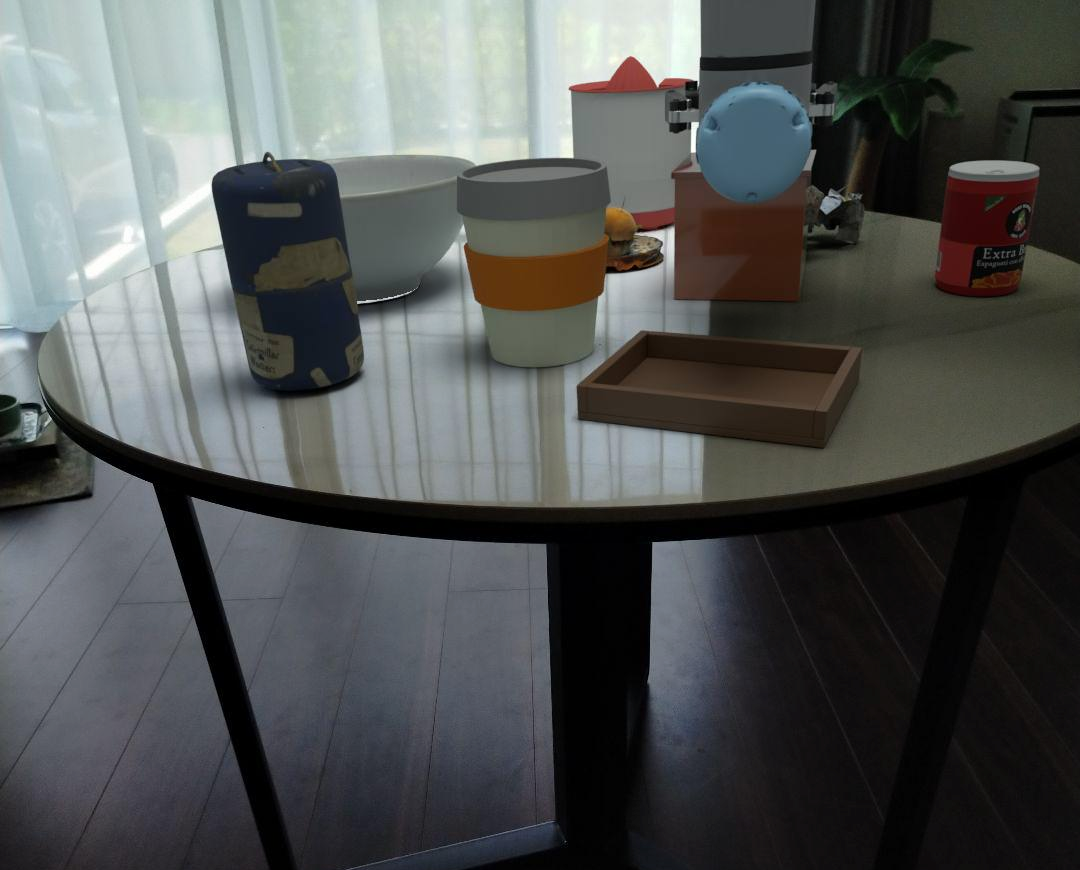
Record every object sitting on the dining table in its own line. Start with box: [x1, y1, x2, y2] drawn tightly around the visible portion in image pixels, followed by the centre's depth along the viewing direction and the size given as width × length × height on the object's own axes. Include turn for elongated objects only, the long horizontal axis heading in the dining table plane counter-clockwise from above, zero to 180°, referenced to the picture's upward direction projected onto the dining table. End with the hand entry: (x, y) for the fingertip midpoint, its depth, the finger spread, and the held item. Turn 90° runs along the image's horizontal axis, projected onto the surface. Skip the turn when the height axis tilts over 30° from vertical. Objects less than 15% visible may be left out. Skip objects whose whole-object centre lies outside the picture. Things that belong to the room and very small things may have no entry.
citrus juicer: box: [568, 55, 695, 231], centre depth 128 cm, size 16×17×20 cm
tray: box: [576, 329, 863, 449], centre depth 73 cm, size 18×14×3 cm
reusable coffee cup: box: [457, 157, 611, 368], centre depth 83 cm, size 13×12×15 cm
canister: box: [211, 151, 365, 392], centre depth 79 cm, size 10×10×18 cm
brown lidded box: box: [671, 149, 817, 302], centre depth 99 cm, size 13×13×12 cm
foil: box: [807, 183, 866, 245], centre depth 112 cm, size 12×11×15 cm
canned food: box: [934, 159, 1040, 298], centre depth 94 cm, size 8×8×11 cm
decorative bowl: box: [318, 154, 477, 301], centre depth 106 cm, size 27×27×12 cm
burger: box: [604, 198, 665, 272], centre depth 112 cm, size 12×12×8 cm
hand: (748, 94), depth 98 cm, fingers closed on grey container, 8 cm apart
